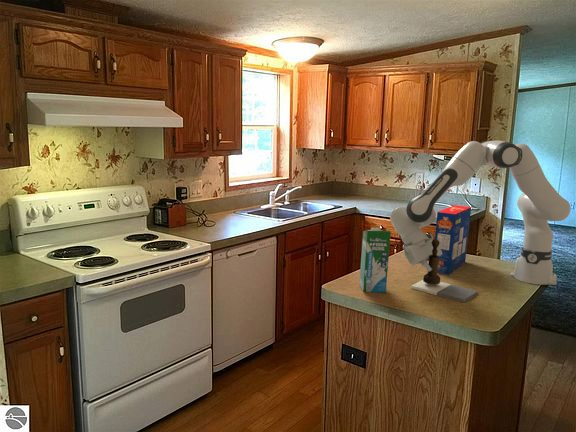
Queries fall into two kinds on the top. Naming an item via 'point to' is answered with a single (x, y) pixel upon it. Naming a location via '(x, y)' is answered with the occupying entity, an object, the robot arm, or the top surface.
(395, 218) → the robot arm
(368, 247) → the milk carton
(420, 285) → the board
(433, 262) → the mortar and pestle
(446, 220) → the pasta box
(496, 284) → the top surface
